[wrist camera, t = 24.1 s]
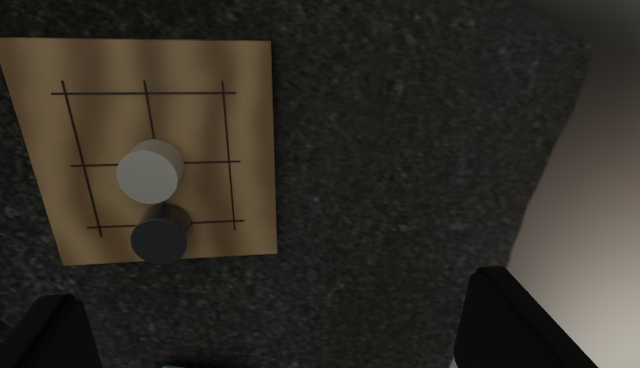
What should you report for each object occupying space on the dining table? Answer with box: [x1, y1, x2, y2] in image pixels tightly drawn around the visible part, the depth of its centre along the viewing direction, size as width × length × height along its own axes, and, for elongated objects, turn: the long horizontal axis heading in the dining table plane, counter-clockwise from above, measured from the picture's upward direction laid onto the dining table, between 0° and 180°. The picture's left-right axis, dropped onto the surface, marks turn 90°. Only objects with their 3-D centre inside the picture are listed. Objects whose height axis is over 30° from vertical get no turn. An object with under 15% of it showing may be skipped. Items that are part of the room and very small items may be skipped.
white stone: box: [116, 139, 185, 204], centre depth 31 cm, size 5×5×3 cm
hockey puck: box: [131, 203, 193, 265], centre depth 34 cm, size 5×5×3 cm
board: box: [0, 37, 277, 266], centre depth 33 cm, size 20×20×1 cm
